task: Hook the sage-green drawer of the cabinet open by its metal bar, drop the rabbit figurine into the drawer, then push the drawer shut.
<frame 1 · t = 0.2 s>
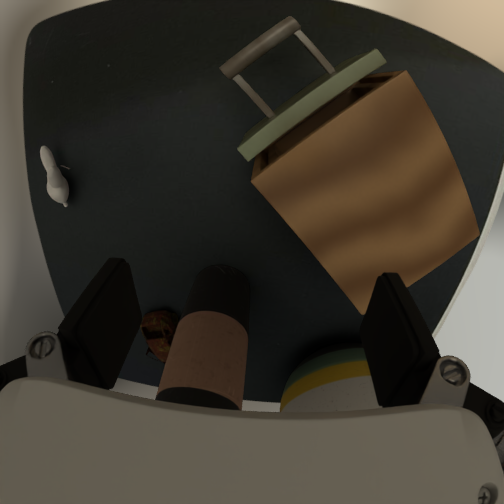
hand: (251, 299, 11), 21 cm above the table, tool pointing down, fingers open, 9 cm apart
drawer: (333, 135, 22), point 5 cm above the table, slide at 1.0 cm
cabinet: (353, 170, 29), on the table
toy car: (173, 334, 43), on the table
planter: (337, 358, 44), on the table
travel mug: (222, 286, 38), on the table
rabbit figurine: (67, 169, 30), on the table
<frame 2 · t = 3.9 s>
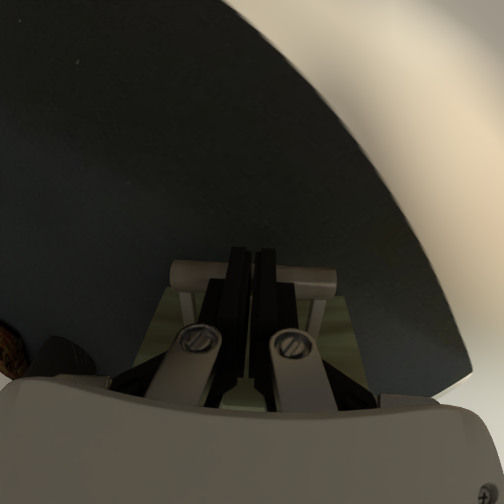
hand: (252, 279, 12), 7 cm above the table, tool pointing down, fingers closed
drawer: (249, 382, 18), point 5 cm above the table, slide at 1.5 cm, touching gripper
toy car: (14, 345, 29), on the table
travel mug: (71, 356, 28), on the table
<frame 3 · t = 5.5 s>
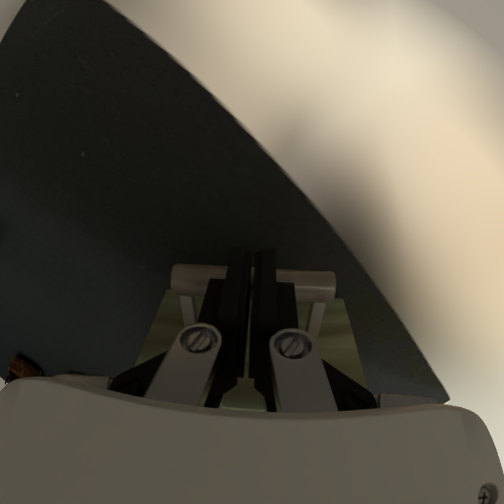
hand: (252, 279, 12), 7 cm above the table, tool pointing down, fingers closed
drawer: (249, 384, 18), point 5 cm above the table, slide at 7.7 cm
toy car: (32, 373, 33), on the table
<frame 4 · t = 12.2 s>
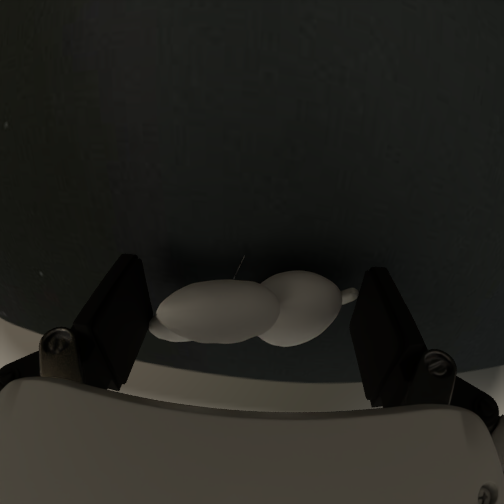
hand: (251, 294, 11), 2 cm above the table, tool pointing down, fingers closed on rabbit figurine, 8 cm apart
rabbit figurine: (247, 266, 13), on the table, touching gripper
when the fingers open (11 cm above the table, at t = 20.2 s): rabbit figurine drops 3 cm, resting on drawer.
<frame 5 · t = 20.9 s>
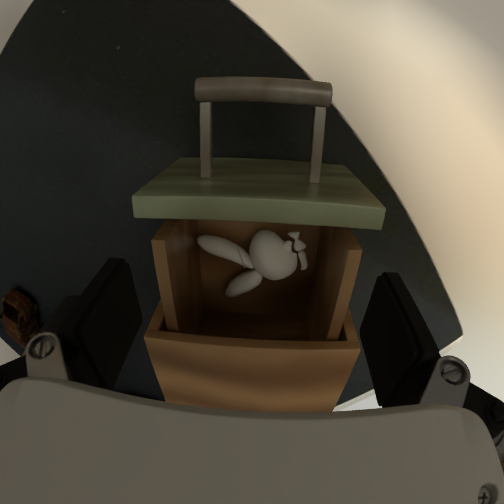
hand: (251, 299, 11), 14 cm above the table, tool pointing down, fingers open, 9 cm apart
drawer: (257, 239, 19), point 5 cm above the table, slide at 7.6 cm, touching rabbit figurine
cabinet: (254, 321, 30), on the table
toy car: (27, 314, 33), on the table
travel mug: (85, 316, 32), on the table
rabbit figurine: (246, 257, 19), point 6 cm above the table, touching drawer
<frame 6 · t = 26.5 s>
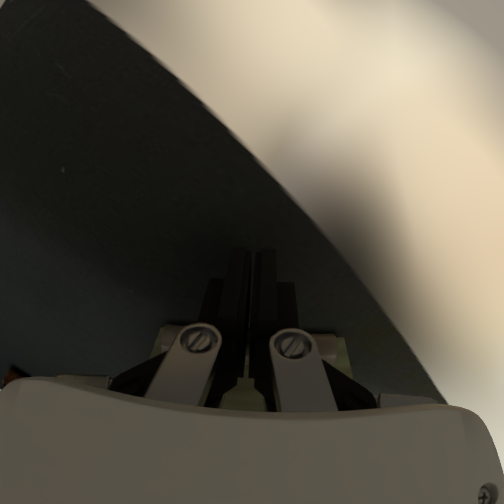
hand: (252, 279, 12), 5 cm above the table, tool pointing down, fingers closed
drawer: (246, 423, 17), point 5 cm above the table, slide at 6.6 cm, touching gripper, rabbit figurine
toy car: (28, 385, 31), on the table
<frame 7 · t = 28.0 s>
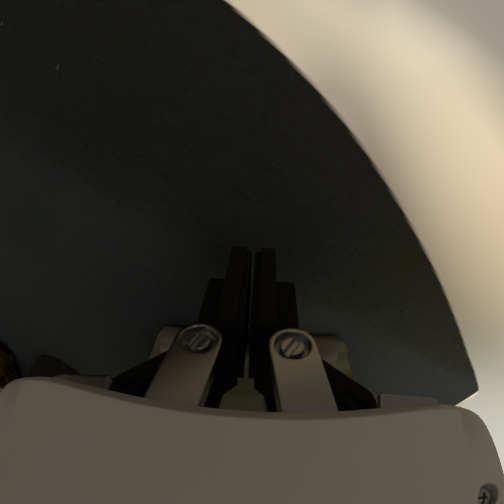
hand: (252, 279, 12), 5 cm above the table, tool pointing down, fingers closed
drawer: (246, 427, 17), point 5 cm above the table, slide at 0.0 cm, touching cabinet, gripper, rabbit figurine
toy car: (6, 360, 27), on the table
travel mug: (63, 375, 26), on the table
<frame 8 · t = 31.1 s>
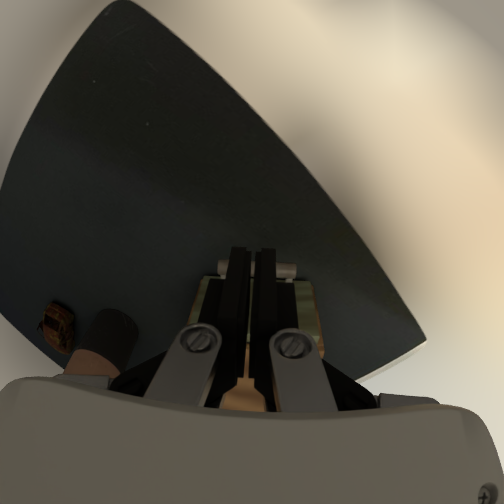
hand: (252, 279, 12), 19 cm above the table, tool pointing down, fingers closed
drawer: (254, 332, 32), point 5 cm above the table, slide at 0.0 cm, touching rabbit figurine
cabinet: (254, 328, 39), on the table
toy car: (62, 322, 43), on the table
travel mug: (118, 325, 41), on the table
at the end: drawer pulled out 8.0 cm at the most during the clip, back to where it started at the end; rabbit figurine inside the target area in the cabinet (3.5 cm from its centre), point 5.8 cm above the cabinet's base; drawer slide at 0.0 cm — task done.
